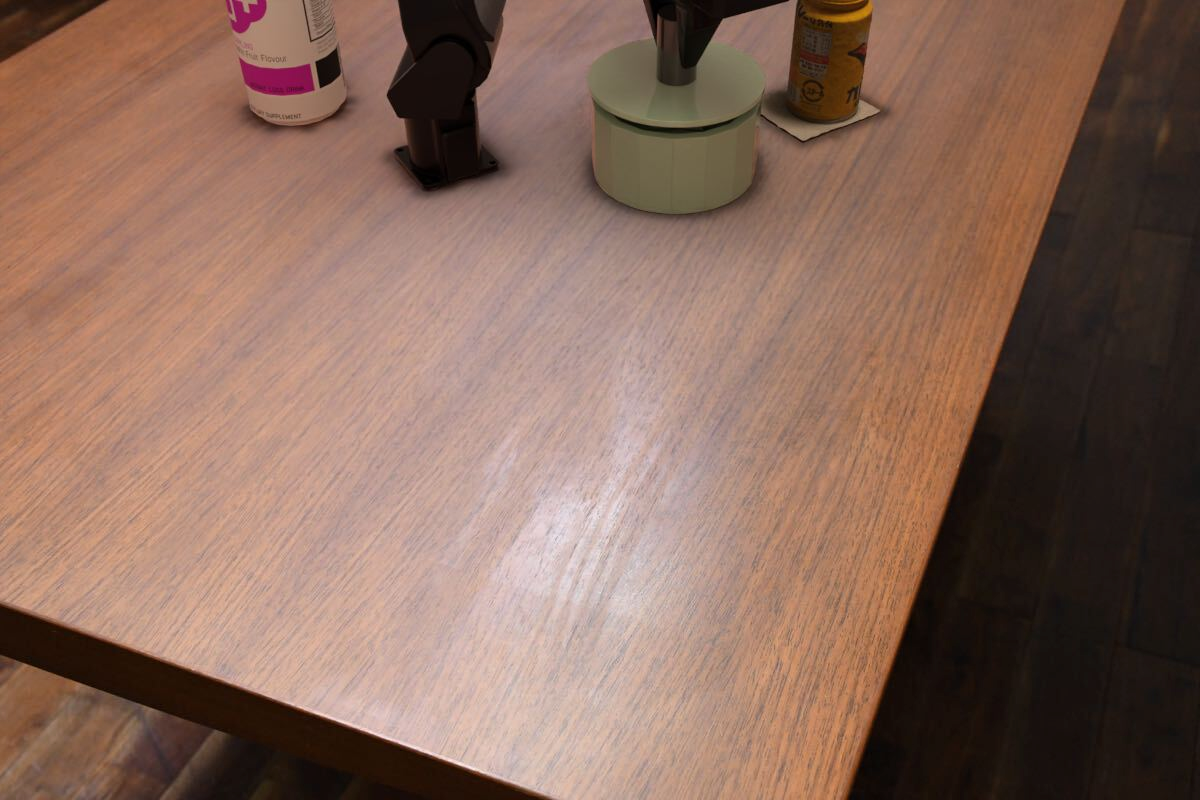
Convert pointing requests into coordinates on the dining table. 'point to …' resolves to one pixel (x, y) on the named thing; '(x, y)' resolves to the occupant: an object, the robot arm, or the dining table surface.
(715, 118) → the lid
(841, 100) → the yellow drink can
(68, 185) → the dining table surface
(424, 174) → the robot arm
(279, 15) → the supplement can
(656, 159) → the canister
